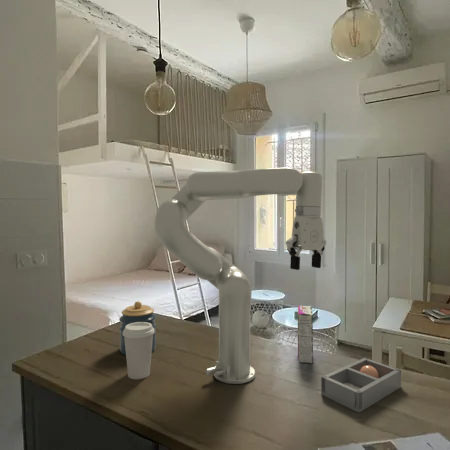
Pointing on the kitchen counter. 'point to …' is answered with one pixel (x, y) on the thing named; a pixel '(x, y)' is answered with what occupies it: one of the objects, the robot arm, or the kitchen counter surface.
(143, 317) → the canister
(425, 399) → the kitchen counter surface
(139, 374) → the coffee cup
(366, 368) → the ball
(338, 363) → the kitchen counter surface
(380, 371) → the divided tray
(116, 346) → the kitchen counter surface
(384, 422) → the kitchen counter surface
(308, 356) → the candy bar box
